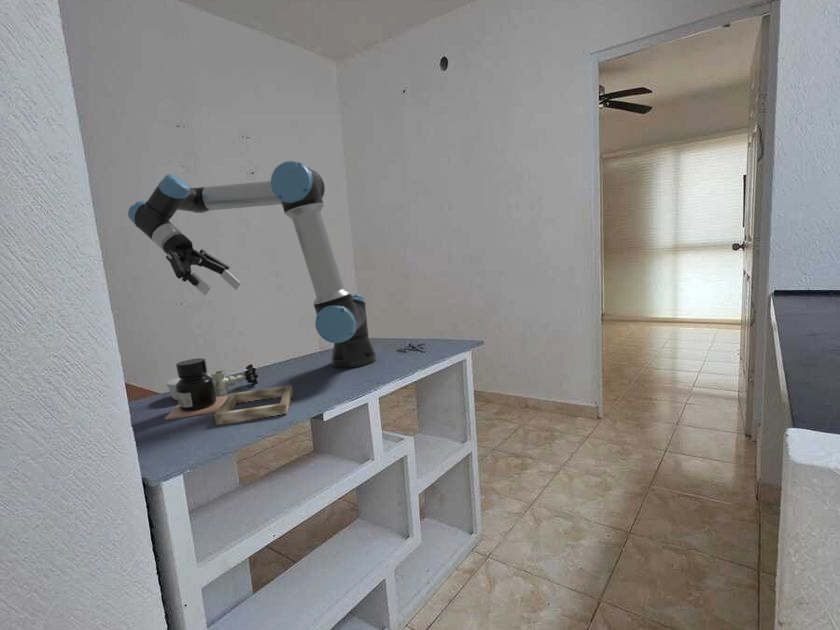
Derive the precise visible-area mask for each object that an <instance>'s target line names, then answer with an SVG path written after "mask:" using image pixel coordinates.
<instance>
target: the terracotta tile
mask: <svg viewBox="0 0 840 630" xmlns="http://www.w3.org/2000/svg"><path fill="white" fill-rule="evenodd" d="M228 396H229V395H228V394H227V395H223V396H216V402H215V403H214V404H213V405H211V406H208V407H205V408H202V409H197V410H192V411H183V410H181V409H180V408H179V404H177V405H176V406H175V407H174V408H173V409H172V410H171V411H170V412H169V413H168V414H167V415H166V416H165V418H164V419H165V420H166V421H168V420H172V419H175V420H176V419H181V418H186V417H194V416H200V415H201V416H202V415H208V414H214V413H215V414H216V413H217V411H218V410H219V408H220V407H221V406H222V404H223V403H224V402H225V400H226V399H227V398H228Z"/></svg>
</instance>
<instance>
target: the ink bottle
mask: <svg viewBox="0 0 840 630" xmlns="http://www.w3.org/2000/svg"><path fill="white" fill-rule="evenodd" d="M175 366H176V372H177V376H178V377H179V378H180V380H179V382H178V383H177V384H176V392H177V398H178V401H177V403H178V405H179V408H180V409H181V410H183V411H192V410H197V409H202V408H205V407H208V406H211V405H213V404H214V403H215V402H216V397H217V396H216V395H215V389H214V383H213V379H212V376H211V375H210V376H208V375H207V374H208V367H207V362H206V358H202V357H201V358H200V357H199V358H192V359H185V360H182V361H180V362H177V363H176V364H175Z"/></svg>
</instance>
